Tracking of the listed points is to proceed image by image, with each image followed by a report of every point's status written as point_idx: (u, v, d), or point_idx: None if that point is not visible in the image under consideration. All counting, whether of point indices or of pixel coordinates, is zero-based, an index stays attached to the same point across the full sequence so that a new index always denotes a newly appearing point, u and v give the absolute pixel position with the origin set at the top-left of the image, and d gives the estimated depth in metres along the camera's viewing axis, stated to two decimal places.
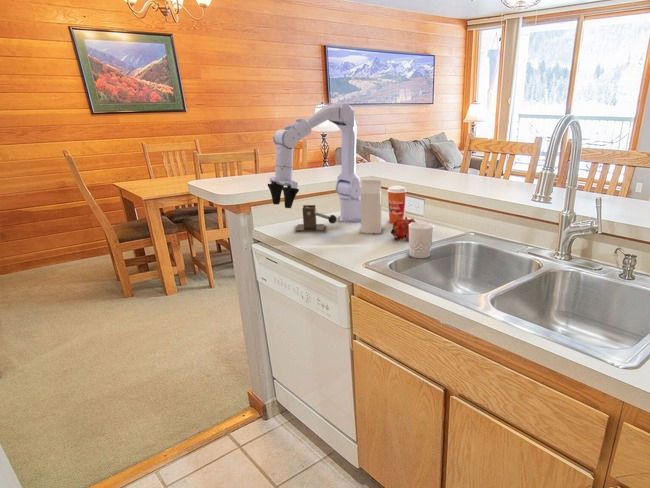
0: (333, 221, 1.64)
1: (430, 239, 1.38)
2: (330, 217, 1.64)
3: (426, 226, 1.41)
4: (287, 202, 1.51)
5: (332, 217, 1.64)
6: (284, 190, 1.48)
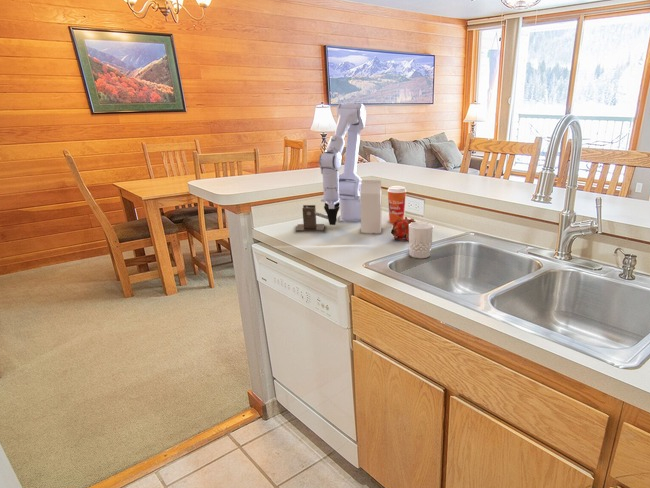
0: None
1: (430, 239, 1.38)
2: None
3: (426, 227, 1.41)
4: (330, 219, 1.63)
5: None
6: (325, 209, 1.60)
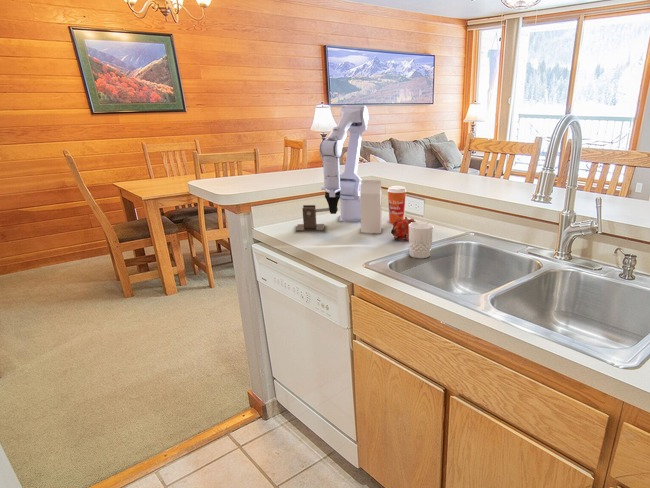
0: None
1: (430, 239, 1.38)
2: None
3: (426, 226, 1.41)
4: (331, 208, 1.61)
5: None
6: (325, 197, 1.59)
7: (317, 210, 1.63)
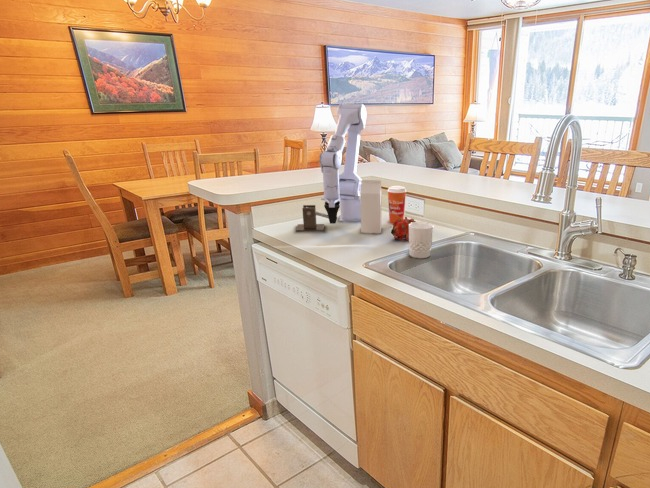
0: None
1: (430, 239, 1.38)
2: None
3: (426, 226, 1.41)
4: (330, 218, 1.63)
5: None
6: (325, 207, 1.60)
7: (317, 213, 1.63)
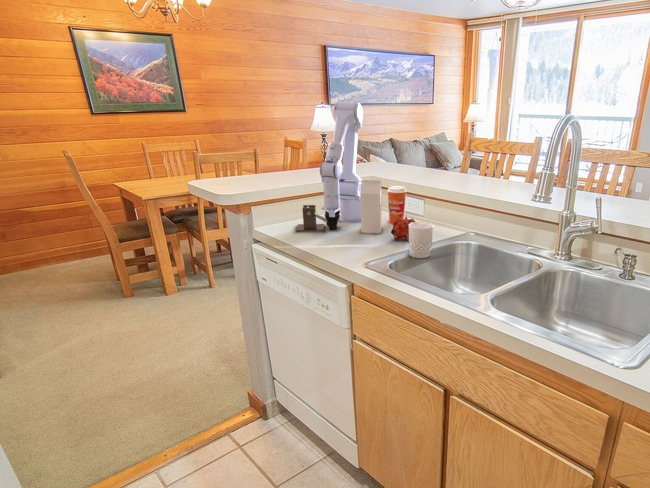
0: None
1: (430, 239, 1.38)
2: None
3: (426, 226, 1.41)
4: (330, 227, 1.64)
5: None
6: None
7: (316, 215, 1.63)
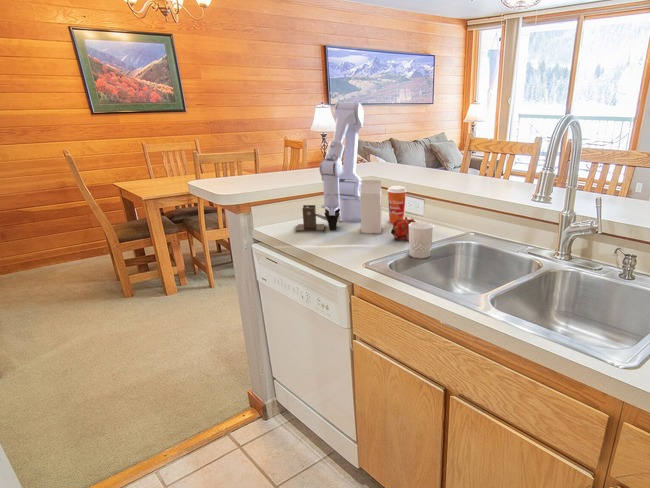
0: None
1: (430, 239, 1.38)
2: None
3: (426, 226, 1.41)
4: (330, 226, 1.63)
5: None
6: (325, 215, 1.61)
7: (317, 214, 1.63)
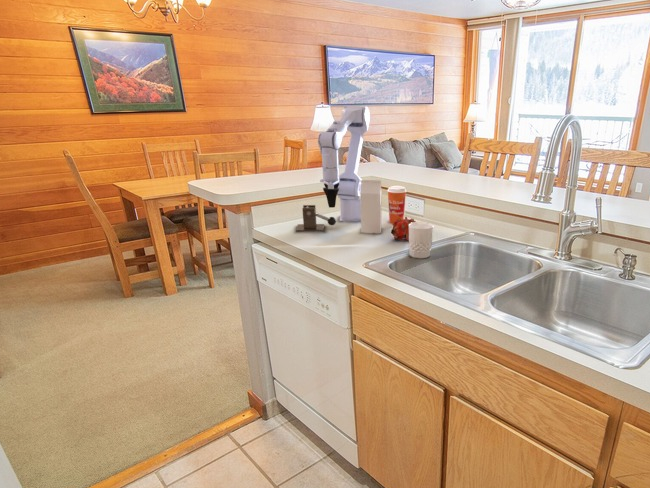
0: (332, 223, 1.64)
1: (430, 239, 1.38)
2: (329, 219, 1.64)
3: (426, 226, 1.41)
4: (329, 202, 1.58)
5: (331, 219, 1.64)
6: (324, 191, 1.56)
7: (317, 214, 1.63)
